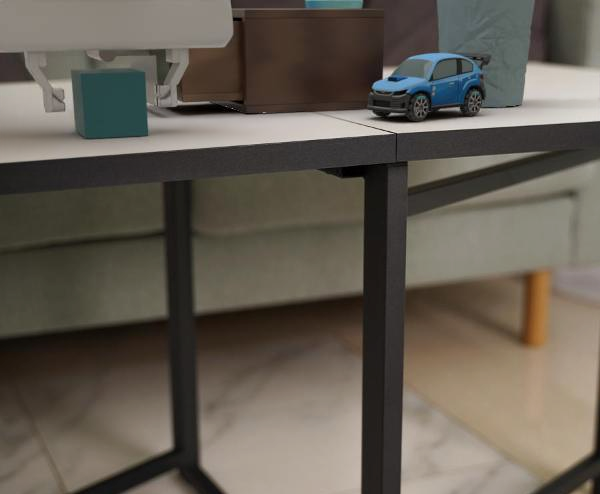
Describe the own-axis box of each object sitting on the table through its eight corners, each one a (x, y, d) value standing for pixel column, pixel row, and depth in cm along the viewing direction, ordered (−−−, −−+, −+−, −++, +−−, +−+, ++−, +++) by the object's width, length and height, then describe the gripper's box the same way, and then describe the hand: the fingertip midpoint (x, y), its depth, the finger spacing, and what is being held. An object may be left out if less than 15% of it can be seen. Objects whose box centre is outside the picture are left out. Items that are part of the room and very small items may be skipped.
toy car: (358, 117, 85) (359, 54, 83) (446, 108, 92) (449, 50, 90) (403, 123, 80) (405, 57, 79) (492, 114, 87) (496, 53, 86)
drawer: (106, 109, 83) (101, 20, 80) (85, 98, 93) (79, 18, 90) (293, 102, 89) (293, 19, 87) (254, 92, 99) (253, 17, 97)
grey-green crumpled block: (529, 109, 91) (538, -17, 88) (427, 107, 93) (433, -17, 90) (525, 99, 101) (534, -15, 97) (433, 97, 103) (439, -15, 99)
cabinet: (246, 114, 87) (244, 9, 84) (208, 101, 98) (205, 8, 95) (382, 108, 93) (385, 9, 90) (331, 96, 104) (332, 8, 101)
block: (85, 139, 71) (80, 73, 70) (75, 131, 76) (70, 69, 74) (148, 135, 73) (145, 71, 72) (134, 128, 77) (131, 67, 76)
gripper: (217, -70, 76) (223, 100, 80) (-43, -76, 69) (-22, 110, 73) (241, -76, 70) (246, 107, 74) (-39, -83, 63) (-17, 119, 67)
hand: (111, 109), depth 74 cm, fingers open, 8 cm apart
